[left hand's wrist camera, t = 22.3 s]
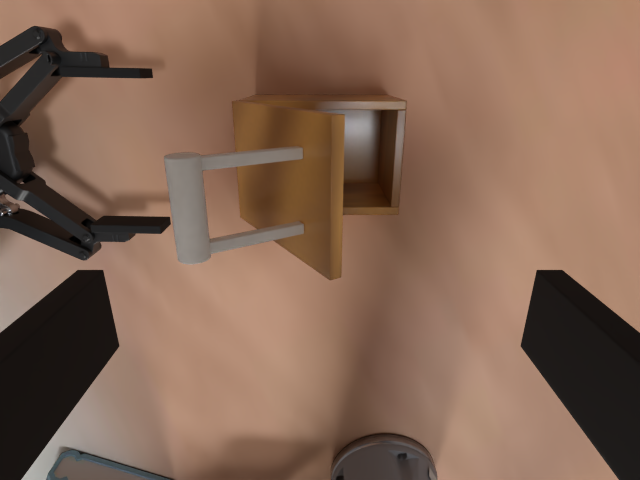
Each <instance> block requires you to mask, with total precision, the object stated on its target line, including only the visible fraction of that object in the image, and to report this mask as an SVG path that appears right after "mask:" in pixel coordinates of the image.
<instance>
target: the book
mask: <svg viewBox="0 0 640 480" xmlns="http://www.w3.org/2000/svg"><path fill="white" fill-rule="evenodd" d="M46 480H170V479H167V478H164V477H161V476H157V475H154V474H151V473H147V472H144V471H141V470H137V469H134V468H131V467H128V466H124V465H121V464H118V463H114V462H111V461H108V460H104V459H101V458H98V457H95V456H91V455H88V454H81V455H80V454H79V452H78V451H75V450H70V451H67V452H64V453H62V454H61V455H60V457H59V458H58V460H57V461H56V463H55V464H54V466H53V467H52V469H51V470H50V471H49V473H48V476H47V479H46Z"/></svg>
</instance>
